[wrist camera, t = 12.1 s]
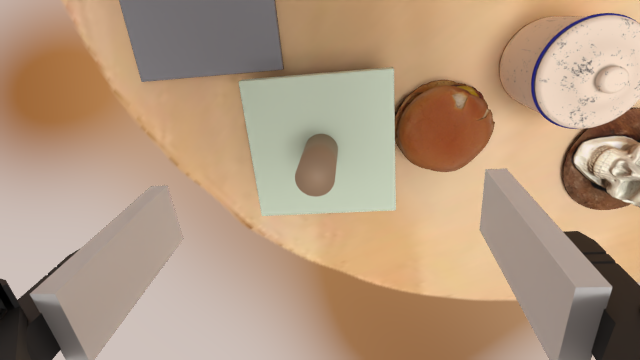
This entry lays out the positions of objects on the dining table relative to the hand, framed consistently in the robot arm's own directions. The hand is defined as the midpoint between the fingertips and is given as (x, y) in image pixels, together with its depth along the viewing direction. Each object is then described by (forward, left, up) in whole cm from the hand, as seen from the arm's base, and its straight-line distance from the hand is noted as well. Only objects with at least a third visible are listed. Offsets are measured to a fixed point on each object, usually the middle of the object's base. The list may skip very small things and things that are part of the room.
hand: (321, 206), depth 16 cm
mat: (-11, -14, -27) cm, 33 cm away
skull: (+10, +30, -28) cm, 42 cm away
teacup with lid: (-2, +22, -28) cm, 35 cm away
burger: (+4, +10, -28) cm, 30 cm away
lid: (+4, -2, -21) cm, 22 cm away
